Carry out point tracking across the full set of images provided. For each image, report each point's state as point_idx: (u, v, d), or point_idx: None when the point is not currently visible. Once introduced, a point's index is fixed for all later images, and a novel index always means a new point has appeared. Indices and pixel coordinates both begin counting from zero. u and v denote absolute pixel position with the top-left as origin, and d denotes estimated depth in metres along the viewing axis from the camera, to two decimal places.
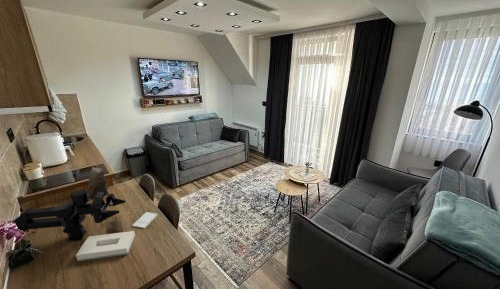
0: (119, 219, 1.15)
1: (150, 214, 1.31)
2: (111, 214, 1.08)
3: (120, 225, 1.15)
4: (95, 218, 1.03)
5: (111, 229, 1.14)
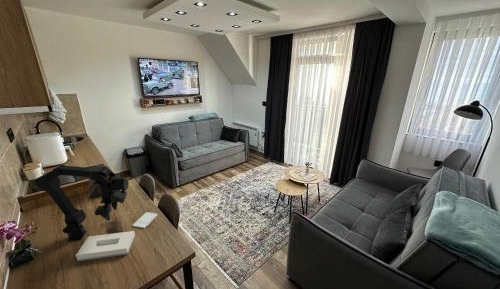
0: (119, 219, 1.15)
1: (150, 214, 1.31)
2: (105, 216, 1.06)
3: (120, 225, 1.15)
4: (101, 211, 1.01)
5: (111, 229, 1.14)
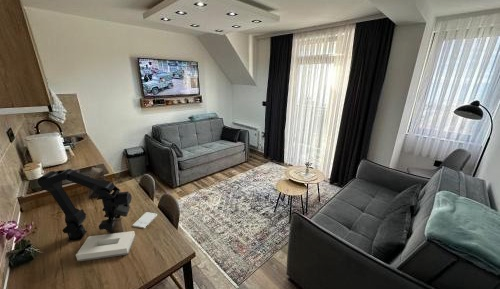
0: (119, 219, 1.15)
1: (150, 214, 1.31)
2: (109, 230, 1.10)
3: (120, 225, 1.15)
4: (105, 226, 1.04)
5: None
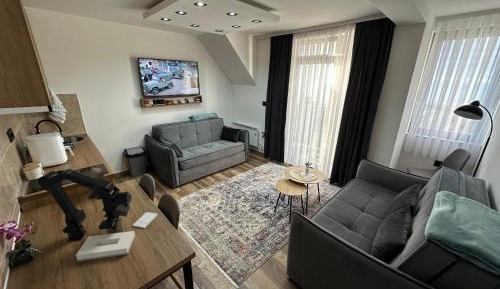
0: (119, 219, 1.15)
1: (150, 214, 1.31)
2: None
3: (120, 225, 1.15)
4: (105, 226, 1.04)
5: (111, 229, 1.14)
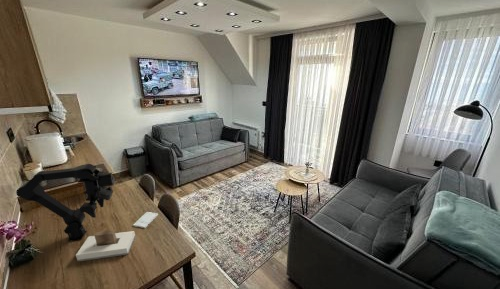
0: (110, 231, 1.04)
1: (151, 214, 1.31)
2: (90, 213, 1.07)
3: (112, 238, 1.04)
4: (85, 208, 1.02)
5: (102, 242, 1.04)
